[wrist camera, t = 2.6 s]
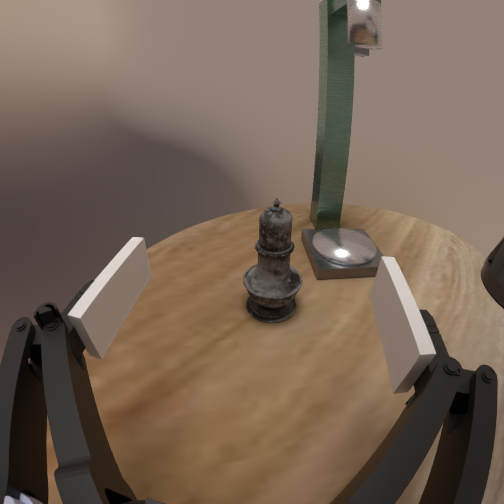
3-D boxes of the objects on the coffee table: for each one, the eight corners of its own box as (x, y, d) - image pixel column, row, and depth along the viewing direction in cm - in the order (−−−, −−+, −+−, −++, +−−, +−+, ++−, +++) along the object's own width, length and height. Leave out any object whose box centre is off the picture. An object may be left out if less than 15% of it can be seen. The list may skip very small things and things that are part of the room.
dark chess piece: (235, 296, 31) (230, 192, 24) (281, 282, 33) (287, 183, 27) (259, 332, 26) (261, 218, 20) (309, 313, 29) (326, 205, 22)
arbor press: (347, 218, 48) (358, -29, 23) (387, 275, 34) (410, -64, 9) (292, 218, 48) (298, -41, 23) (317, 279, 33) (328, -91, 9)
